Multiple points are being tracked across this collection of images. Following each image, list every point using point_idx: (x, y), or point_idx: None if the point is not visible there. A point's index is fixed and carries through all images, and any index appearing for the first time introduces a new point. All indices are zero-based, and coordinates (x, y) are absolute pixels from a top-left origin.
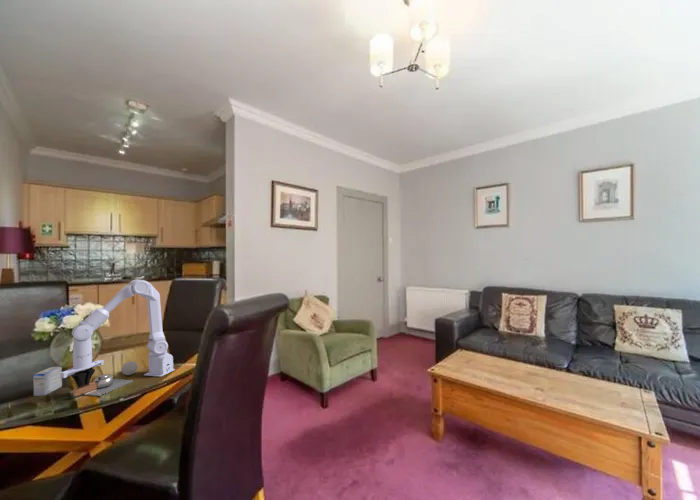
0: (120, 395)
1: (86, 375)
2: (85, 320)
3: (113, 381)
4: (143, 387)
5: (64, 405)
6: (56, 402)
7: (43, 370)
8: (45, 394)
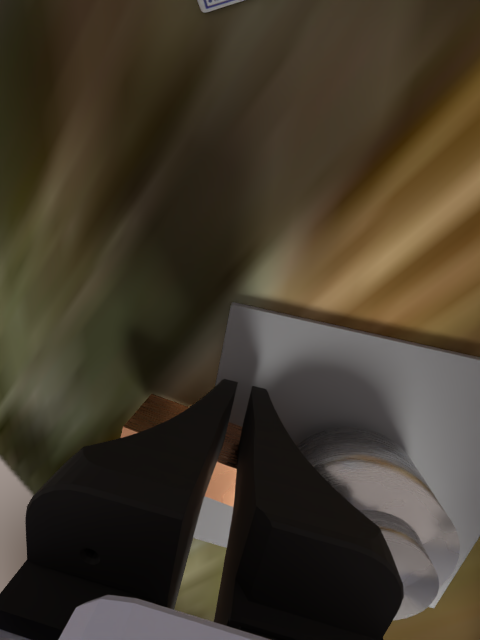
0: (206, 616)
1: (226, 569)
2: None
3: (446, 488)
4: None
5: (68, 410)
6: (92, 314)
7: None
8: (201, 9)
